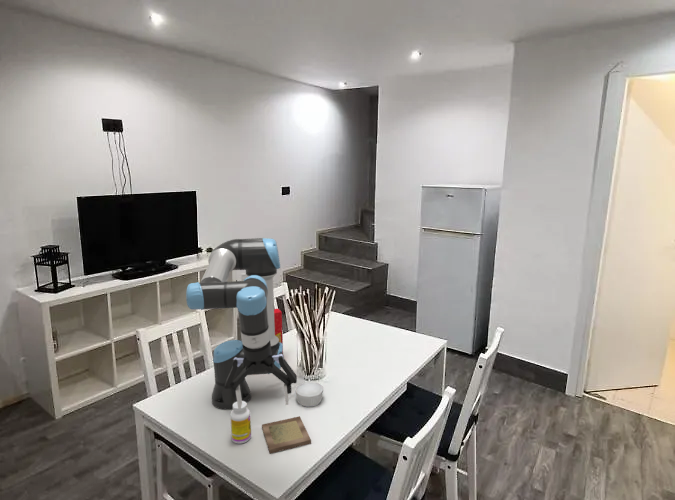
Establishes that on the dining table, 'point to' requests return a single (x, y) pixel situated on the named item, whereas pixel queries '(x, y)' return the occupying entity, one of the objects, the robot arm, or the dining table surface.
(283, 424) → the walnut plinth
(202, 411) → the dining table surface
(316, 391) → the ramekin
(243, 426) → the supplement bottle
